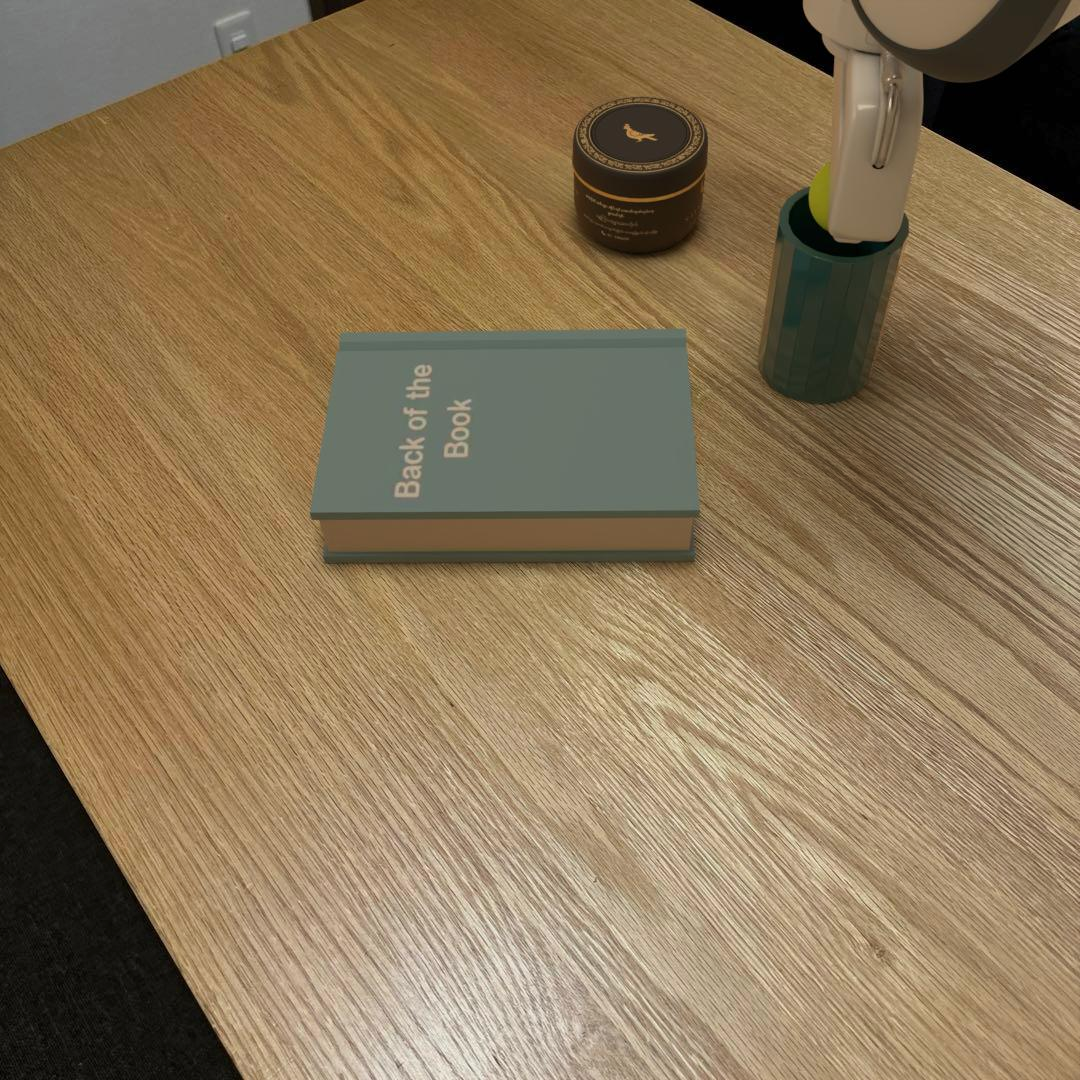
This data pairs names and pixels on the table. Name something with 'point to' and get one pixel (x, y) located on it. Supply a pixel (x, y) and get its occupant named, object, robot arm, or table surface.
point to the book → (508, 448)
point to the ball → (820, 196)
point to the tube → (824, 306)
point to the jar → (639, 173)
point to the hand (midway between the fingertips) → (848, 203)
